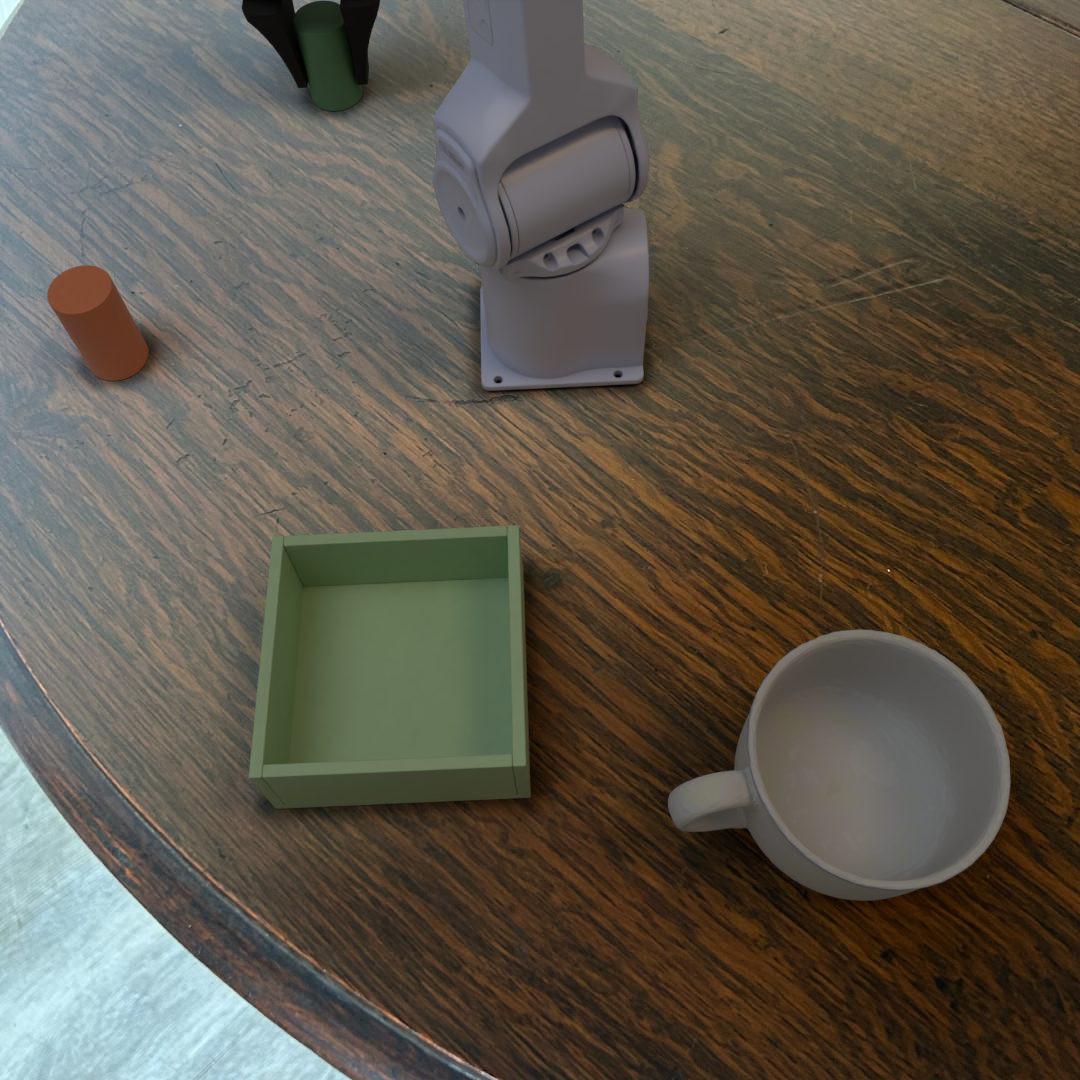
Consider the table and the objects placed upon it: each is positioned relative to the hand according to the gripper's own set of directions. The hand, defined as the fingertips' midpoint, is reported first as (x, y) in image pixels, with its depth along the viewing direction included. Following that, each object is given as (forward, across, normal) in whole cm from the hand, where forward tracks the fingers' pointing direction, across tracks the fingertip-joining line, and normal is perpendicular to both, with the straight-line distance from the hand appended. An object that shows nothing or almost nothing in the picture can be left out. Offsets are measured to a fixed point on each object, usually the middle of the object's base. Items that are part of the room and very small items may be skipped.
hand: (334, 77), depth 75 cm
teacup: (+2, -25, +52) cm, 58 cm away
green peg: (+1, 0, 0) cm, 1 cm away
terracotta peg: (+1, +12, +23) cm, 26 cm away
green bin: (+1, -6, +45) cm, 45 cm away
